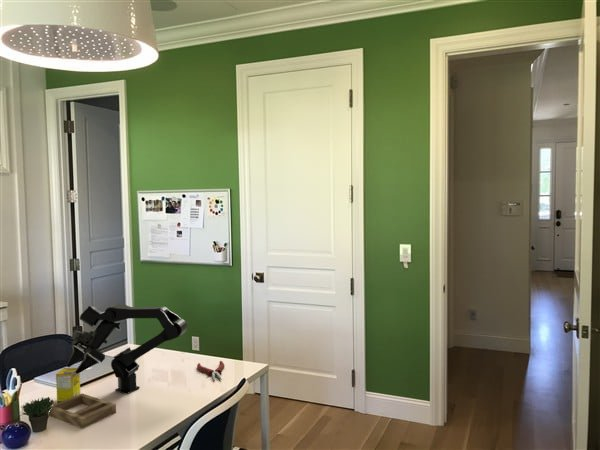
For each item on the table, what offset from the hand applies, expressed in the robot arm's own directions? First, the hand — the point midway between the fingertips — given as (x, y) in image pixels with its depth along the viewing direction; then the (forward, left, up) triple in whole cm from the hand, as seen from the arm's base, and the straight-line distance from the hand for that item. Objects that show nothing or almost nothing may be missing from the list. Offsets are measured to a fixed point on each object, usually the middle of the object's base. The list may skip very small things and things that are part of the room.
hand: (71, 369), depth 175 cm
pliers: (-26, -45, -11) cm, 53 cm away
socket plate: (-15, +6, -11) cm, 19 cm away
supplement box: (0, +1, -11) cm, 11 cm away
